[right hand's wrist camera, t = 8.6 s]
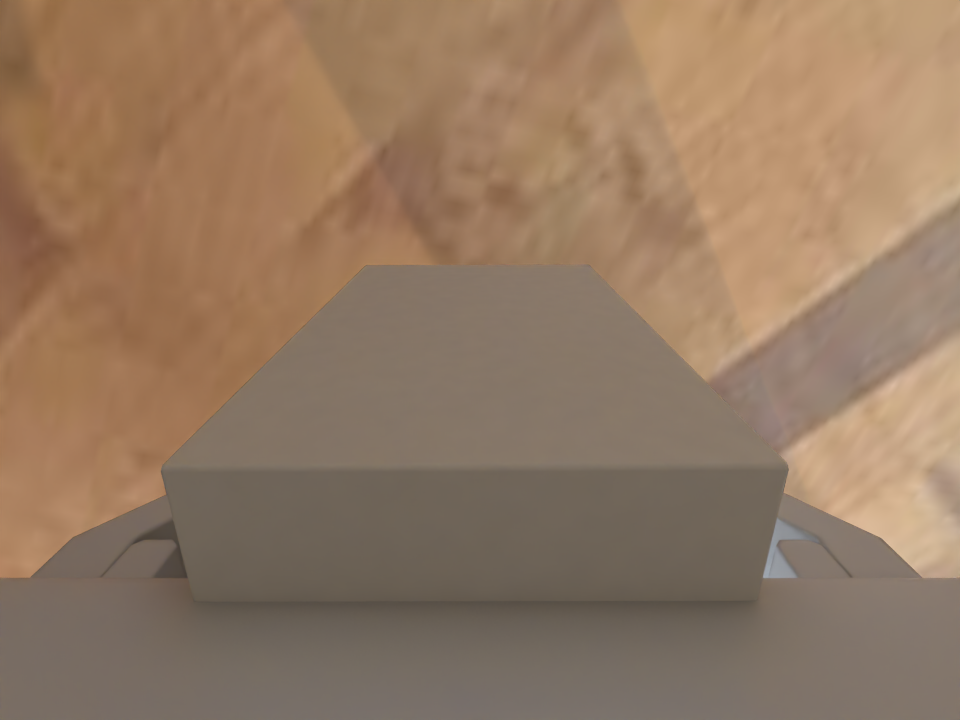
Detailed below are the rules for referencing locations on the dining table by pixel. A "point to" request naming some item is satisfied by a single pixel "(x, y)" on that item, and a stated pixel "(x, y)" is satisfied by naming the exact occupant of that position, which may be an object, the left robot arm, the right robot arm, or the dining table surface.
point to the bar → (475, 454)
